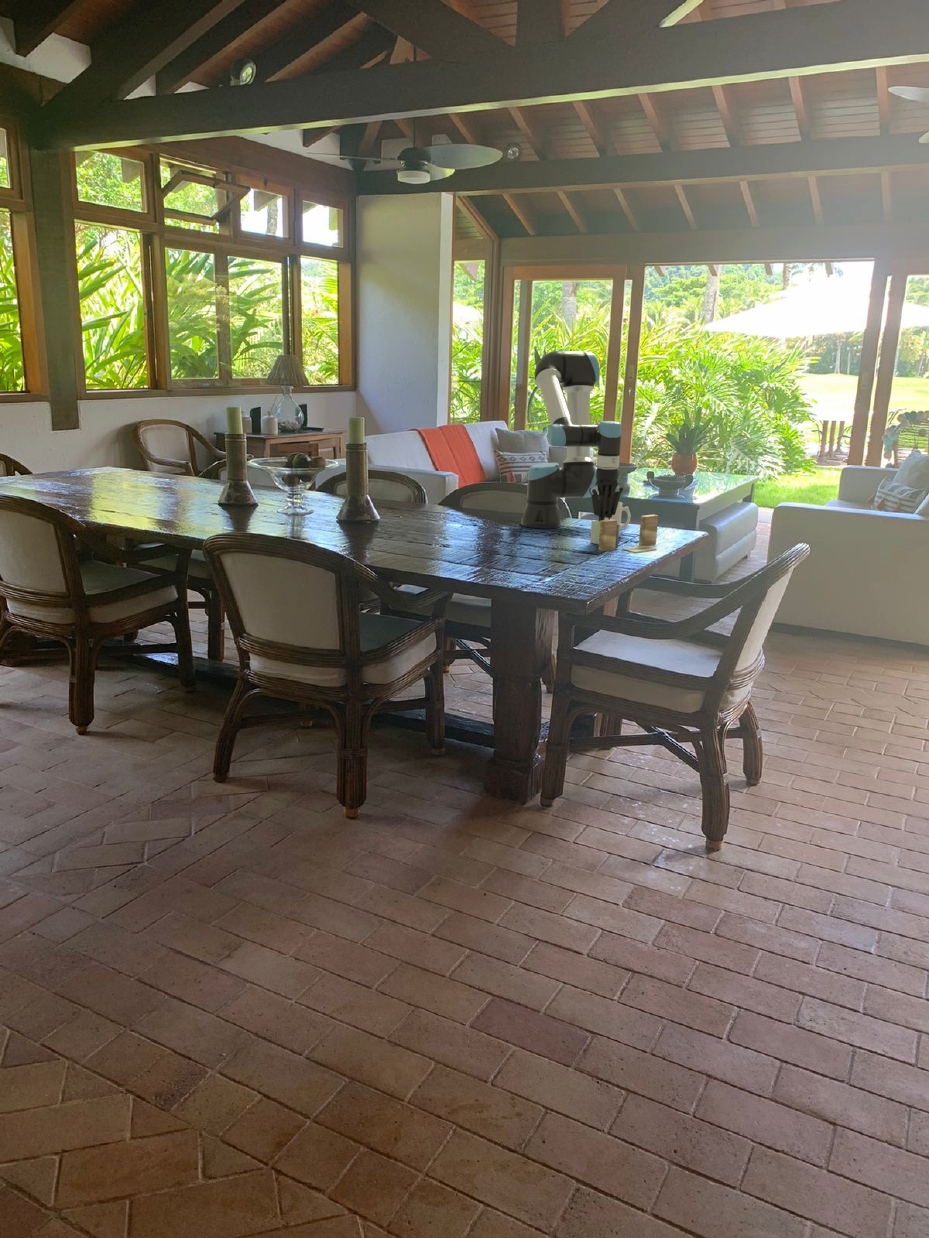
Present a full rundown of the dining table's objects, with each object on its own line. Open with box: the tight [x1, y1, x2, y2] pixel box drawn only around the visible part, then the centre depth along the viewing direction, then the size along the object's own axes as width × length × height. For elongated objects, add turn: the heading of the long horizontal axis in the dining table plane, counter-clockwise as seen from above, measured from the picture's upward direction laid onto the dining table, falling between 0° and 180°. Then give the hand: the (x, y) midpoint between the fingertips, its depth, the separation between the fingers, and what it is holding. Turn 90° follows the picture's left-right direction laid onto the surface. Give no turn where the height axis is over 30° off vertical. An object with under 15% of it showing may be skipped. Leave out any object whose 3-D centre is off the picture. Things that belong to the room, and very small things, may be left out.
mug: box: [610, 501, 632, 536], centre depth 337 cm, size 10×7×12 cm, turn 72°
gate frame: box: [598, 514, 659, 554], centre depth 315 cm, size 10×25×10 cm, turn 125°
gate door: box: [590, 519, 620, 549], centre depth 319 cm, size 12×1×8 cm, turn 39°
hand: (603, 535), depth 324 cm, fingers closed
